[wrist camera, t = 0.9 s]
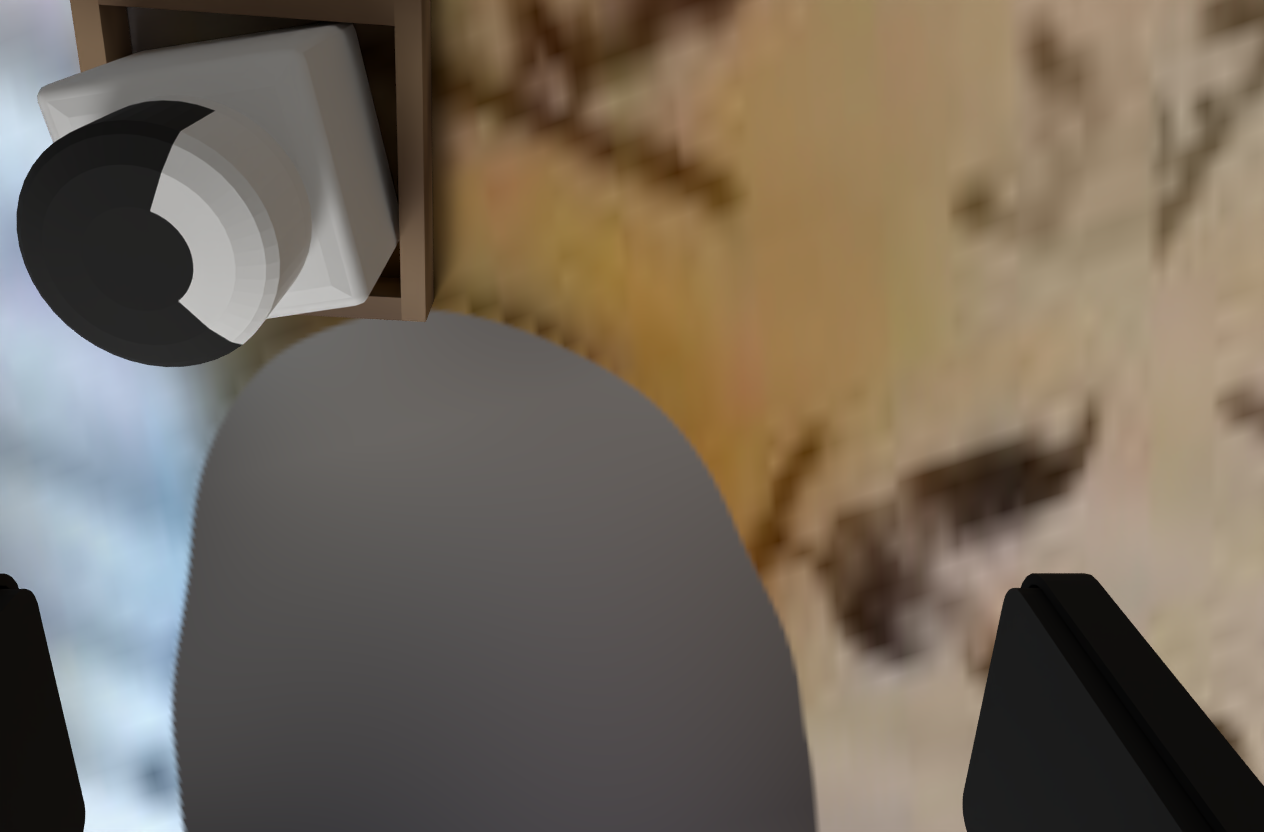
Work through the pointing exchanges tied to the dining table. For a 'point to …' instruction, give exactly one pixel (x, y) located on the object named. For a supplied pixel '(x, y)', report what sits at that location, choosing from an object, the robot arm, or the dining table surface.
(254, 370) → the dining table surface
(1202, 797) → the robot arm
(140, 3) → the collar
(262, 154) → the medicine bottle
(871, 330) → the dining table surface
